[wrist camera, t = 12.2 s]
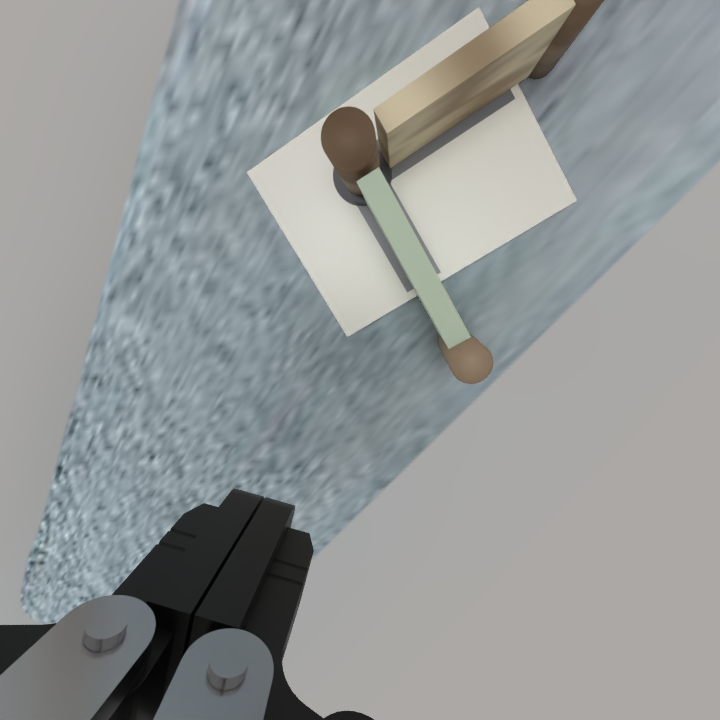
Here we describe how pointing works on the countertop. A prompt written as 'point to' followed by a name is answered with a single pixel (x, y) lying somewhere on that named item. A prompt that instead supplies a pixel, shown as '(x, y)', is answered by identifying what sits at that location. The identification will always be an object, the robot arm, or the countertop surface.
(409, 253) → the fence gate
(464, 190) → the card
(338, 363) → the countertop surface
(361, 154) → the fence fixed
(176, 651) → the robot arm
